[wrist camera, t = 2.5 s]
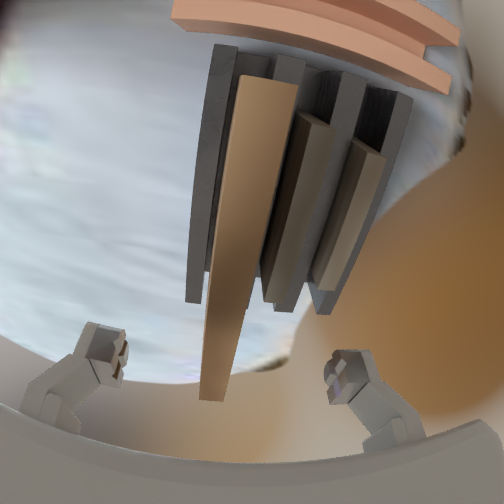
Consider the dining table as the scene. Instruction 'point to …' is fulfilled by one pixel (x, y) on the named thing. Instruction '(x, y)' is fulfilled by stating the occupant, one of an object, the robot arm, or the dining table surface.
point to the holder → (336, 31)
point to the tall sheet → (242, 219)
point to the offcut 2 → (347, 213)
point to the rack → (309, 100)
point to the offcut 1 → (294, 202)
